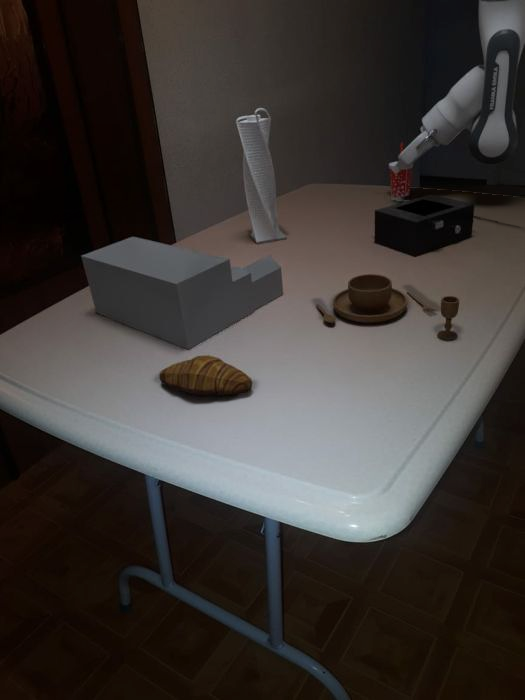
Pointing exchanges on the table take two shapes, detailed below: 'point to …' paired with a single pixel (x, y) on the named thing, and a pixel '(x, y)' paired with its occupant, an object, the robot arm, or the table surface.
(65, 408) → the table surface
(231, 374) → the croissant
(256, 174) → the skyscraper
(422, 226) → the black open top box
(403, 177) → the beverage cup
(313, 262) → the table surface
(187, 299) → the grey stepped block
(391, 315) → the place setting
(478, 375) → the table surface
